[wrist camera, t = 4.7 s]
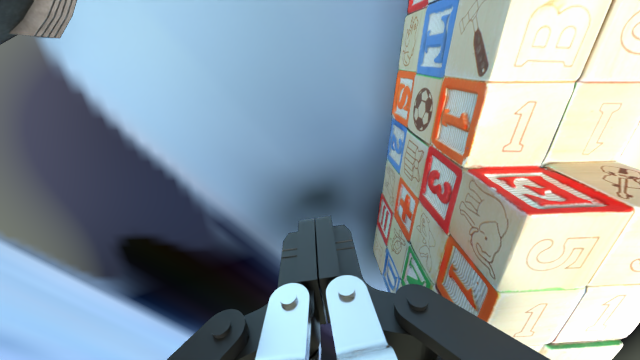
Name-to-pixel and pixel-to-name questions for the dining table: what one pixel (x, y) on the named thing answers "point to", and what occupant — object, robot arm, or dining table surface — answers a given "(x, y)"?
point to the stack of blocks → (519, 168)
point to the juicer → (34, 18)
